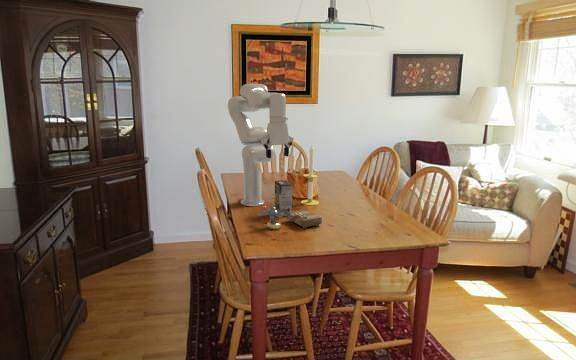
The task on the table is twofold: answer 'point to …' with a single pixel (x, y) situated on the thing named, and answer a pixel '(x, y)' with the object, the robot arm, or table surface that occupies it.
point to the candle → (310, 181)
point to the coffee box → (283, 196)
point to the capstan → (272, 216)
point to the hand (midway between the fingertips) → (277, 157)
